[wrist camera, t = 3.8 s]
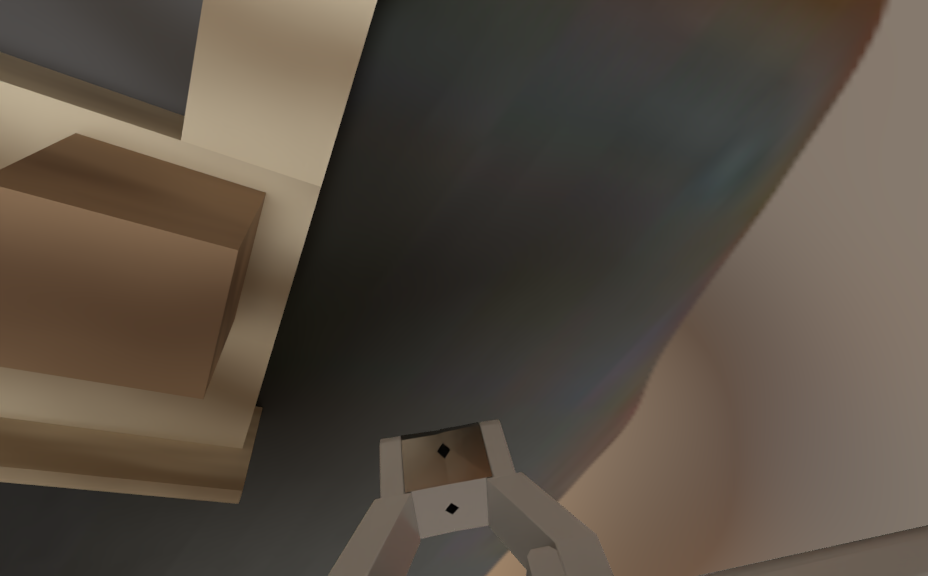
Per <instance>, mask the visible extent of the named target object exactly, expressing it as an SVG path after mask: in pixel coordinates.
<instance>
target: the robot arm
mask: <svg viewBox="0 0 928 576" xmlns="http://www.w3.org/2000/svg"><path fill="white" fill-rule="evenodd" d="M379 448H380V494H381V498H379V499H374V501H373V503H372V504H371V506H370V508H369V509H368V511H367V513H366V514H365V516H364V517H363V519H362V521H361V522H360V524H359V526H358V527H357V529H356V530H355V532H354V534H353V535H352V537H351V539H350V540H349V542H348V543H347V545H346V547H345V548H344V550H343V552H342V553H341V555H340V557H339V558H338V560H337V561H336V563H335V565H334V566H333V568H332V570H331V571H330V573H329V574H328V576H406V575H407V572H408V570H409V568H410V565H411V563H412V560H413V558H414V556H415V553H416V551H417V549H418V546H419V544H420V539H422V538H427V537H431V536H436V535H440V534H445V533H449V532H453V531H459V530H465V529H471V528H477V527H483V526H489V527H490V529H491V530H492V531H493V532H494V533H495V534H496V535H497V537H498V538H499V539H500V540H501V541H502V542H503V543H504V545H505V546H506V547H507V548H508V549H509V550H510V551H511V552H512V554H513V555H514V556H515V557H516V558H517V559H518V560H519V561H520V563H521V564H522V565H523V566H524V567H525V568H526V570H527V574H526V576H614V575H613V573H612V570H611V568H610V566H609V563H608V561H607V558H606V556H605V554H604V552H603V549H602V547H601V544H600V542H599V539H598V537H597V535H596V534H595V533H594V532H593V531H592V530H590V529H589V528H588V527H587V526H586V525H584V524H583V523H582V522H581V521H580V520H578V519H577V518H576V517H574V515H572V514H571V513H570V512H569V511H568V510H566V509H565V508H564V507H563V506H562V505H560V504H559V503H558V502H557V501H556V500H554V499H553V498H552V497H551V496H550V495H548V494H547V493H546V492H545V491H544V490H542V489H541V488H540V487H539V486H538V485H536V484H535V483H534V482H533V481H532V480H530V479H529V478H528V477H527V476H526V475H524V474H523V473H522V472H519V473H516V472H515V469H514V465H513V462H512V459H511V456H510V452H509V449H508V446H507V443H506V439H505V436H504V433H503V430H502V426H501V423H500V421H499V420H498V419H496V420H490V421H484V422H479V423H478V422H477V423H471V424H466V425H461V426H455V427H450V428H444V429H440V430H436V431H430V432H423V433H416V434H409V435H402V436H397V437H390V438H384V439H380V445H379ZM454 529H455V530H454ZM699 576H928V525H926V526H922V527H917V528H913V529H908V530H903V531H899V532H894V533H890V534H885V535H881V536H876V537H871V538H867V539H862V540H858V541H853V542H849V543H845V544H840V545H836V546H831V547H826V548H822V549H817V550H812V551H808V552H804V553H799V554H794V555H790V556H785V557H781V558H777V559H772V560H767V561H763V562H758V563H754V564H749V565H744V566H740V567H736V568H731V569H727V570H722V571H717V572H713V573H708V574H704V575H699Z"/></svg>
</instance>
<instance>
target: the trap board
mask: <svg viewBox="0 0 928 576" xmlns="http://www.w3.org/2000/svg"><path fill="white" fill-rule="evenodd" d="M376 3H377V0H0V169H2V168H4V167H6V166H8V165H10V164H12V163H15V162H17V161H19V160H21V159H23V158H25V157H27V156H29V155H31V154H33V153H35V152H37V151H39V150H42V149H44V148H46V147H48V146H50V145H52V144H54V143H56V142H58V141H60V140H62V139H64V138H66V137H69V136H71V135H73V134H75V133H78V134H81V135H84V136H87V137H90V138H93V139H97V140H100V141H103V142H106V143H109V144H113V145H116V146H119V147H122V148H125V149H128V150H132V151H135V152H138V153H141V154H144V155H148V156H151V157H154V158H157V159H160V160H164V161H167V162H170V163H173V164H176V165H179V166H183V167H186V168H189V169H192V170H195V171H199V172H202V173H205V174H208V175H211V176H214V177H218V178H221V179H224V180H227V181H230V182H234V183H237V184H240V185H243V186H246V187H249V188H253V189H256V190H259V191H262V192H265V193H266V196H265V200H264V204H263V208H262V212H261V216H260V220H259V224H258V228H257V232H256V236H255V240H254V244H253V248H252V252H251V256H250V260H249V264H248V268H247V272H246V276H245V280H244V284H243V288H242V292H241V296H240V300H239V304H238V308H237V312H236V316H235V320H234V322H233V325H232V327H231V330H230V333H229V335H228V338H227V340H226V343H225V345H224V348H223V350H222V353H221V356H220V358H219V361H218V363H217V366H216V368H215V371H214V373H213V376H212V379H211V381H210V384H209V386H208V389H207V391H206V394H205V396H204V399H198V398H192V397H186V396H179V395H173V394H167V393H161V392H154V391H148V390H142V389H136V388H130V387H123V386H117V385H111V384H105V383H98V382H92V381H86V380H80V379H73V378H67V377H61V376H55V375H49V374H42V373H36V372H30V371H24V370H17V369H11V368H5V367H0V482H7V483H18V484H29V485H40V486H51V487H62V488H73V489H84V490H95V491H105V492H116V493H127V494H138V495H149V496H160V497H171V498H182V499H192V500H203V501H214V502H225V503H236V504H239V500H240V497H241V494H242V491H243V487H244V483H245V479H246V474H247V470H248V466H249V462H250V458H251V454H252V449H253V445H254V441H255V437H256V433H257V429H258V424H259V420H260V416H261V412H262V408H263V407H256V406H255V405H256V402H257V398H258V395H259V392H260V388H261V385H262V382H263V379H264V375H265V372H266V369H267V365H268V362H269V359H270V355H271V352H272V349H273V345H274V342H275V339H276V335H277V332H278V329H279V325H280V322H281V319H282V315H283V312H284V309H285V305H286V302H287V299H288V295H289V292H290V289H291V285H292V282H293V279H294V275H295V272H296V269H297V265H298V262H299V259H300V256H301V252H302V249H303V246H304V242H305V239H306V236H307V232H308V229H309V226H310V222H311V219H312V216H313V212H314V209H315V206H316V202H317V199H318V196H319V192H320V189H321V186H322V182H323V179H324V176H325V172H326V169H327V166H328V162H329V159H330V156H331V152H332V149H333V146H334V142H335V139H336V136H337V132H338V129H339V126H340V123H341V119H342V116H343V113H344V109H345V106H346V103H347V99H348V96H349V93H350V89H351V86H352V83H353V79H354V76H355V73H356V69H357V66H358V63H359V59H360V56H361V53H362V49H363V46H364V43H365V39H366V36H367V33H368V29H369V26H370V23H371V19H372V16H373V13H374V9H375V6H376Z"/></svg>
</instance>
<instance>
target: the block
mask: <svg viewBox="0 0 928 576" xmlns="http://www.w3.org/2000/svg"><path fill="white" fill-rule="evenodd" d="M265 196H266V193H265V192H262V191H259V190H256V189H253V188H249V187H246V186H243V185H240V184H237V183H234V182H230V181H227V180H224V179H221V178H218V177H214V176H211V175H208V174H205V173H202V172H199V171H195V170H192V169H189V168H186V167H183V166H179V165H176V164H173V163H170V162H167V161H164V160H160V159H157V158H154V157H151V156H148V155H144V154H141V153H138V152H135V151H132V150H128V149H125V148H122V147H119V146H116V145H113V144H109V143H106V142H103V141H100V140H97V139H93V138H90V137H87V136H84V135H81V134H78V133H75V134H73V135H71V136H69V137H66V138H64V139H62V140H60V141H58V142H56V143H54V144H52V145H50V146H48V147H46V148H44V149H42V150H39V151H37V152H35V153H33V154H31V155H29V156H27V157H25V158H23V159H21V160H19V161H17V162H15V163H12V164H10V165H8V166H6V167H4V168H2V169H0V367H5V368H11V369H17V370H24V371H30V372H36V373H42V374H49V375H55V376H61V377H67V378H73V379H80V380H86V381H92V382H98V383H105V384H111V385H117V386H123V387H130V388H136V389H142V390H148V391H154V392H161V393H167V394H173V395H179V396H186V397H192V398H198V399H204V396H205V394H206V391H207V389H208V386H209V384H210V381H211V379H212V376H213V373H214V371H215V368H216V366H217V363H218V361H219V358H220V356H221V353H222V350H223V348H224V345H225V343H226V340H227V338H228V335H229V333H230V330H231V327H232V325H233V322H234V320H235V316H236V312H237V308H238V304H239V300H240V296H241V292H242V288H243V284H244V280H245V276H246V272H247V268H248V264H249V260H250V256H251V252H252V248H253V244H254V240H255V236H256V232H257V228H258V224H259V220H260V216H261V212H262V208H263V204H264V200H265Z"/></svg>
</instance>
